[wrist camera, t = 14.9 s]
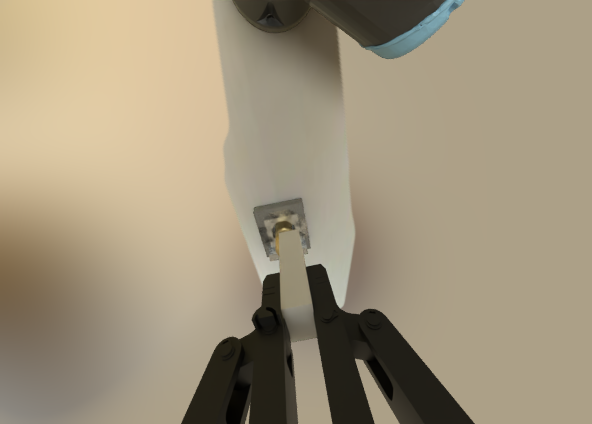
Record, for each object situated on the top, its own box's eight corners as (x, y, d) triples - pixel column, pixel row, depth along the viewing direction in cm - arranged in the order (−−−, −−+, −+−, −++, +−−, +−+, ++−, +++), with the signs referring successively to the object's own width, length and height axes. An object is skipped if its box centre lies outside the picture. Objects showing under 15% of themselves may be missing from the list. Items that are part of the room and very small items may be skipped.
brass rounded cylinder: (271, 226, 55) (271, 250, 46) (283, 216, 54) (286, 238, 45) (283, 235, 57) (284, 260, 48) (295, 226, 56) (299, 249, 47)
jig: (254, 207, 52) (252, 216, 48) (301, 198, 52) (303, 206, 48) (267, 250, 59) (267, 262, 54) (309, 242, 59) (311, 253, 54)
